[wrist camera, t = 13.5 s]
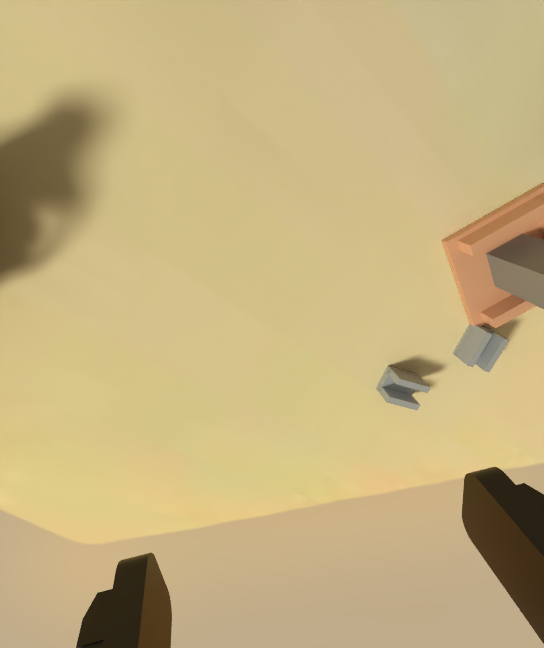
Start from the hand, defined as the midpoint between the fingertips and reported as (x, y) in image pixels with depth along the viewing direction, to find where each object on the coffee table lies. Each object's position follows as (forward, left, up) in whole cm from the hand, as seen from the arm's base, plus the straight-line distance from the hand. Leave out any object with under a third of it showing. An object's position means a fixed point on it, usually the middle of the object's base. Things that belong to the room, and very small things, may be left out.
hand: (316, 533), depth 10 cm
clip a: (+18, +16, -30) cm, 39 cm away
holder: (+6, +28, -30) cm, 41 cm away
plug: (+6, +28, -29) cm, 41 cm away
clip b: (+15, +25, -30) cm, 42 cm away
